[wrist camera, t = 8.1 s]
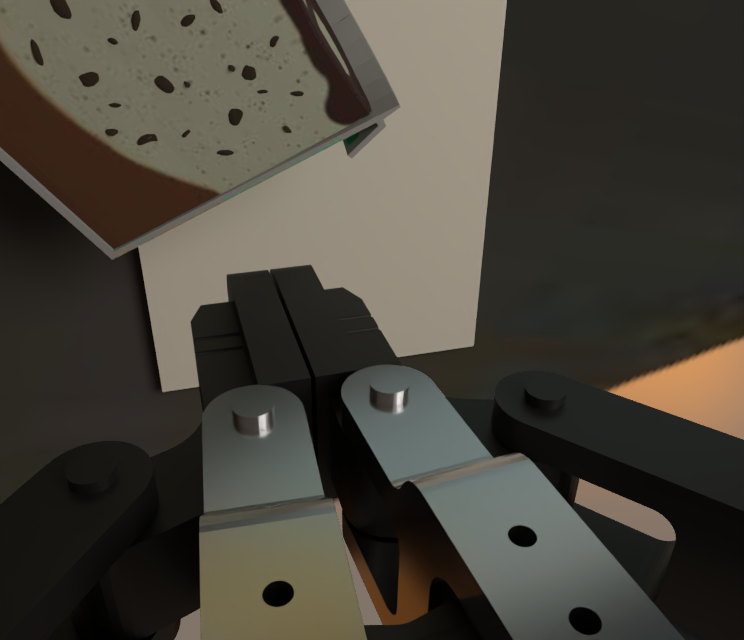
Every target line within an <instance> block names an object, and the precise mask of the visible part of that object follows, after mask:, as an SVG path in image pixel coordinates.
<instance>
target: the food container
mask: <svg viewBox="0 0 744 640" xmlns="http://www.w3.org/2000/svg"><path fill="white" fill-rule="evenodd" d="M399 108H400V104H399V102H398V100H397V97H396V95H395V93H394V91H393V89H392V87H391V85H390V83H389V81H388V79H387V77H386V75H385V73H384V71H383V69H382V68H381V66H380V64H379V62H378V60H377V58H376V56H375V54H374V53H373V51H372V49H371V47H370V45H369V43H368V41H367V40H366V38H365V36H364V34H363V32H362V31H361V29H360V27H359V25H358V23H357V22H356V20H355V18H354V16H353V15H352V13H351V11H350V9H349V7H348V6H347V4H346V2H345V0H0V161H1V162H2V163H4V164H5V165H6V166H7V167H8V168H9V169H10V170H11V171H13V172H14V173H15V174H16V175H17V176H18V177H19V178H21V179H22V180H23V181H24V182H25V183H26V184H27V185H28V186H30V187H31V188H32V189H33V190H34V191H35V192H36V193H37V194H39V195H40V196H41V197H42V198H43V199H44V200H45V201H46V202H48V203H49V204H50V205H51V206H52V207H53V208H54V209H56V210H57V211H58V212H59V213H60V214H61V215H62V216H63V217H65V218H66V219H67V220H68V221H69V222H70V223H71V224H72V225H74V226H75V227H76V228H77V229H78V230H79V231H80V232H82V233H83V234H84V235H85V236H86V237H87V238H88V239H89V240H91V241H92V242H93V243H94V244H95V245H96V246H97V247H98V248H100V249H101V250H102V251H103V252H104V253H105V254H106V255H107V256H109V257H110V258H111V259H112V260H114V259H115V258H117V257H119V256H121V255H123V254H125V253H127V252H129V251H131V250H133V249H135V248H137V247H138V246H140V245H142V244H144V243H146V242H148V241H150V240H152V239H154V238H156V237H158V236H160V235H162V234H163V233H165V232H167V231H169V230H171V229H173V228H175V227H177V226H179V225H181V224H183V223H185V222H186V221H188V220H190V219H192V218H194V217H196V216H198V215H200V214H202V213H204V212H206V211H208V210H209V209H211V208H213V207H215V206H217V205H219V204H221V203H223V202H225V201H227V200H229V199H231V198H233V197H234V196H236V195H238V194H240V193H242V192H244V191H246V190H248V189H250V188H252V187H254V186H256V185H257V184H259V183H261V182H263V181H265V180H267V179H269V178H271V177H273V176H275V175H277V174H279V173H280V172H282V171H284V170H286V169H288V168H290V167H292V166H294V165H296V164H298V163H300V162H302V161H304V160H305V159H307V158H309V157H311V156H313V155H315V154H317V153H319V152H321V151H323V150H325V149H327V148H328V147H330V146H332V145H334V144H336V143H338V142H340V141H342V140H343V143H344V146H345V149H346V152H347V155H348V156H349V157H350V158H353V157H354V156H355V155H356V154H357V153H358V152H359V151H360V150H361V149H363V148H364V147H365V146H366V145H367V144H368V143H369V142H370V141H371V140H372V139H373V138H374V137H375V136H376V135H377V134H378V133H379V132H381V131H382V130H383V129H384V128H385V127H386V124H385V122H384V120H383V119H385V118H386V117H387V116H389V115H390V114H392V113H393V112H394V111H396V110H397V109H399Z"/></svg>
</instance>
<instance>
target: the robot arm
mask: <svg viewBox="0 0 744 640" xmlns="http://www.w3.org/2000/svg"><path fill="white" fill-rule="evenodd" d="M227 292H228V302H223V303H215V304H207V305H200V307H199V309H198V310H197V312H196V313H195V315H194V317H193V318H192V320H191V329H192V337H193V344H194V352H195V359H196V367H197V374H198V382H199V389H200V396H201V403H202V409H203V416H202V422H201V424H200V426H199V427H198V428H197V430H196V431H195V432H194V433H193V434H192V435H191V436H190V437H189V438H188V439H186V440H185V441H184V442H182V443H180V444H179V445H177V446H175V447H174V448H171V449H169V450H167V451H165V452H162V453H160V454H157V455H155V456H153V457H149V455H148V454H147V453H146V452H145V451H144V450H142V449H141V448H139V447H138V446H135V445H133V444H130V443H125V442H119V441H102V442H95V443H90V444H86V445H82V446H79V447H76V448H74V449H71V450H69V451H67V452H65V453H63V454H61V455H60V456H58V457H56V458H55V459H54V460H52V461H51V462H50V463H48V464H47V465H46V466H45V467H44V468H42V469H41V470H40V471H39V472H38V473H37V474H35V475H34V476H33V477H32V478H31V479H29V480H28V481H27V482H26V483H25V484H24V485H22V486H21V487H20V488H19V489H18V490H17V491H15V492H14V493H13V494H12V495H11V496H10V497H8V498H7V499H6V500H5V501H4V502H3V503H1V504H0V640H174V639H175V637H176V635H177V632H178V630H179V626H180V620H181V618H183V617H185V616H187V615H188V614H190V613H192V612H194V611H196V610H197V609H199V608H200V614H201V615H200V617H201V640H744V440H743V439H740V438H737V437H734V436H731V435H728V434H726V433H723V432H720V431H717V430H714V429H712V428H709V427H706V426H703V425H700V424H697V423H695V422H692V421H689V420H686V419H683V418H680V417H677V416H675V415H672V414H669V413H666V412H663V411H661V410H658V409H655V408H652V407H649V406H647V405H644V404H641V403H638V402H635V401H633V400H630V399H627V398H624V397H621V396H618V395H615V394H613V393H610V392H607V391H604V390H601V389H599V388H596V387H593V386H590V385H587V384H585V383H582V382H579V381H576V380H573V379H570V378H568V377H565V376H562V375H558V374H555V373H550V372H544V371H522V372H518V373H514V374H511V375H509V376H507V377H505V378H503V379H502V380H501V381H500V382H499V383H498V385H497V386H496V389H495V395H494V400H482V399H461V398H452V397H446V396H444V395H443V394H442V393H441V391H440V390H439V389H438V387H437V386H436V385H435V384H434V382H433V381H432V380H431V379H430V378H429V377H427V376H426V375H425V374H423V373H421V372H419V371H417V370H415V369H412V368H409V367H405V366H402V365H401V363H400V361H399V360H398V358H397V356H396V355H395V353H394V351H393V350H392V348H391V346H390V345H389V343H388V341H387V340H386V338H385V336H384V335H383V333H382V331H381V330H379V328H378V325H377V323H376V322H375V320H374V318H373V317H371V313H370V312H369V310H368V308H367V307H366V305H365V303H364V302H363V300H362V299H361V298H360V297H358V296H356V295H355V294H353V293H351V292H350V291H348V290H347V289H345V288H343V287H340V288H332V289H324V288H323V286H322V284H321V282H320V280H319V278H318V277H317V275H316V273H315V271H314V269H313V267H312V265H303V266H294V267H286V268H277V269H271V270H270V273H269V271H268V270H261V271H252V272H244V273H235V274H227ZM579 478H580V479H583V480H585V481H587V482H590V483H592V484H594V485H597V486H599V487H602V488H604V489H606V490H608V491H611V492H613V493H616V494H618V495H620V496H623V497H625V498H627V499H630V500H632V501H635V502H637V503H639V504H642V505H644V506H646V507H649V508H651V509H653V510H655V511H657V512H659V513H660V514H662V515H663V516H664V517H665V518H666V519H667V520H668V521H669V522H670V523H671V525H672V526H673V528H674V530H675V533H676V540H675V541H662V540H658V539H655V538H653V537H651V536H649V535H646V534H644V533H642V532H640V531H638V530H635V529H633V528H631V527H628V526H626V525H624V524H622V523H619V522H617V521H615V520H613V519H610V518H608V517H606V516H604V515H601V514H599V513H597V512H595V511H592V510H590V509H588V508H585V507H583V506H581V505H579V504H576V503H574V501H575V497H576V491H577V487H578V483H579ZM333 498H339V501H340V504H341V506H342V523H343V524H342V528H343V537H344V540H345V543H346V545H347V547H348V549H349V551H350V554H351V556H352V558H353V560H354V562H355V565H356V567H357V569H358V571H359V573H360V576H361V578H362V580H363V582H364V584H365V587H366V589H367V591H368V593H369V595H370V598H371V599H372V602H373V604H374V606H375V608H376V611H377V613H378V615H379V617H380V619H381V622H382V624H383V625H363V620H362V617H361V612H360V608H359V604H358V600H357V596H356V591H355V588H354V583H353V579H352V575H351V571H350V567H349V563H348V558H347V554H346V550H345V546H344V542H343V538H342V533H341V529H340V525H339V521H338V517H337V513H336V509H335V505H334V502H333V500H332V499H333Z"/></svg>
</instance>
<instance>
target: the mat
mask: <svg viewBox="0 0 744 640" xmlns="http://www.w3.org/2000/svg"><path fill="white" fill-rule="evenodd" d="M345 2H346V4H347V6H348V7H349V9H350V11H351V13H352V15H353V16H354V18H355V20H356V22H357V23H358V25H359V27H360V29H361V31H362V32H363V34H364V36H365V38H366V40H367V41H368V43H369V45H370V47H371V49H372V51H373V53H374V54H375V56H376V58H377V60H378V62H379V64H380V66H381V68H382V69H383V71H384V73H385V75H386V77H387V79H388V81H389V83H390V85H391V87H392V89H393V91H394V93H395V95H396V97H397V100H398V102H399V104H400V108H399V109H397V110H396V111H394V112H393V113H392V114H390V115H389V116H387V117H386V118H385V119H383V120H384V122H385V124H386V127H385V128H384V129H383V130H382V131H381V132H379V133H378V134H377V135H376V136H375V137H374V138H373V139H372V140H371V141H370V142H369V143H368V144H367V145H366V146H365V147H364V148H363V149H361V150H360V151H359V152H358V153H357V154H356V155H355V156H354V157H353V158H350V157H349V156H348V155H347V152H346V149H345V146H344V143H343V140H342V141H340V142H338V143H336V144H334V145H332V146H330V147H328V148H327V149H325V150H323V151H321V152H319V153H317V154H315V155H313V156H311V157H309V158H307V159H305V160H304V161H302V162H300V163H298V164H296V165H294V166H292V167H290V168H288V169H286V170H284V171H282V172H280V173H279V174H277V175H275V176H273V177H271V178H269V179H267V180H265V181H263V182H261V183H259V184H257V185H256V186H254V187H252V188H250V189H248V190H246V191H244V192H242V193H240V194H238V195H236V196H234V197H233V198H231V199H229V200H227V201H225V202H223V203H221V204H219V205H217V206H215V207H213V208H211V209H209V210H208V211H206V212H204V213H202V214H200V215H198V216H196V217H194V218H192V219H190V220H188V221H186V222H185V223H183V224H181V225H179V226H177V227H175V228H173V229H171V230H169V231H167V232H165V233H163V234H162V235H160V236H158V237H156V238H154V239H152V240H150V241H148V242H146V243H144V244H142V245H140V246H138V248H139V254H140V260H141V266H142V272H143V278H144V284H145V290H146V296H147V302H148V308H149V314H150V320H151V326H152V332H153V338H154V344H155V350H156V356H157V362H158V368H159V374H160V380H161V386H162V392H166V391H173V390H180V389H187V388H193V387H199V382H198V374H197V367H196V359H195V352H194V344H193V337H192V329H191V320H192V318H193V317H194V315H195V313H196V312H197V310H198V309H199V307H200V305H207V304H215V303H223V302H228V292H227V274H235V273H244V272H252V271H261V270H268V271H269V273H270V270H271V269H277V268H286V267H294V266H303V265H312V267H313V269H314V271H315V273H316V275H317V277H318V278H319V280H320V282H321V284H322V286H323V288H324V289H332V288H340V287H343V288H345V289H347V290H348V291H350V292H351V293H353V294H355V295H356V296H358V297H360V298H361V299H362V300H363V302H364V303H365V305H366V307H367V308H368V310H369V312H370V313H371V317H373V318H374V320H375V322H376V323H377V325H378V328H379V330H381V331H382V333H383V335H384V336H385V338H386V340H387V341H388V343H389V345H390V346H391V348H392V350H393V351H394V353H395V355H396V356H397V357H402V356H409V355H416V354H423V353H429V352H436V351H443V350H450V349H456V348H463V347H470V346H474V337H475V326H476V316H477V306H478V295H479V285H480V274H481V264H482V254H483V243H484V233H485V222H486V212H487V201H488V191H489V181H490V170H491V160H492V149H493V139H494V129H495V118H496V108H497V97H498V87H499V77H500V66H501V56H502V45H503V35H504V25H505V14H506V4H507V0H345Z"/></svg>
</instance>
